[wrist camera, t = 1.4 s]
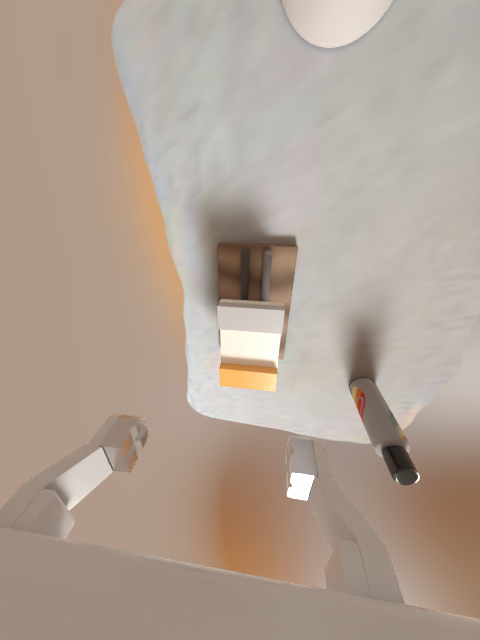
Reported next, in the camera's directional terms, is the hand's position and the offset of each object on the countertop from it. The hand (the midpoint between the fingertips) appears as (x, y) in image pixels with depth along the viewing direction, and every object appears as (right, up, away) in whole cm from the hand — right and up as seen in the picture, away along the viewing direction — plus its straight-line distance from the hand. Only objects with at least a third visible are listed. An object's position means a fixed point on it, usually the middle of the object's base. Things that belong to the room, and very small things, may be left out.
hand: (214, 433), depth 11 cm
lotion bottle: (+30, -10, +42) cm, 52 cm away
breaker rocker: (+3, +1, +28) cm, 28 cm away
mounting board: (+4, +8, +35) cm, 36 cm away
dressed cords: (+4, +12, +31) cm, 34 cm away
